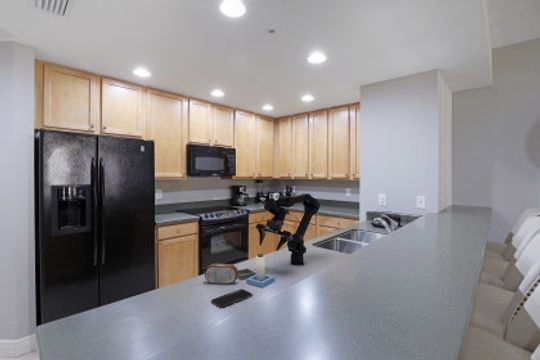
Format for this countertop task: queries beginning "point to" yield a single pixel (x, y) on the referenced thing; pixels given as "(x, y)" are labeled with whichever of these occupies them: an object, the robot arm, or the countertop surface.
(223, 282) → the tin
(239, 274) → the gray socket
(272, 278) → the blue bezel socket
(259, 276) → the cream canister charcoal lid
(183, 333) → the countertop surface
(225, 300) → the phone
